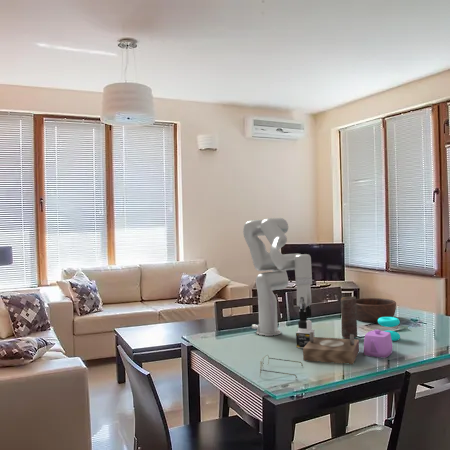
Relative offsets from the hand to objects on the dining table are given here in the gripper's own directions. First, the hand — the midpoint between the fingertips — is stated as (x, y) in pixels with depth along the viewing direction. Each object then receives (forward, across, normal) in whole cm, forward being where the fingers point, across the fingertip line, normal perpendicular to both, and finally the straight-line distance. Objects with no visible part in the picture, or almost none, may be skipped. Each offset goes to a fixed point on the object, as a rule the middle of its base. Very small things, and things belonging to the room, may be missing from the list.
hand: (305, 318), depth 215 cm
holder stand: (+13, +11, +13) cm, 22 cm away
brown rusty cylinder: (+13, -21, +16) cm, 29 cm away
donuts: (+13, -24, +34) cm, 44 cm away
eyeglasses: (+14, +38, -2) cm, 41 cm away
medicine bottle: (+13, -1, -1) cm, 13 cm away
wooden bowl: (+12, -70, +23) cm, 74 cm away
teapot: (+14, +3, +31) cm, 34 cm away
